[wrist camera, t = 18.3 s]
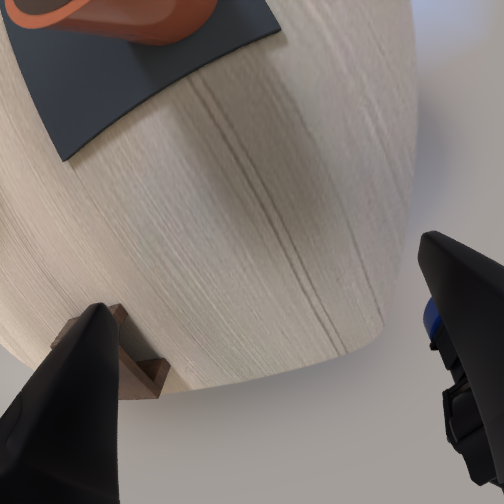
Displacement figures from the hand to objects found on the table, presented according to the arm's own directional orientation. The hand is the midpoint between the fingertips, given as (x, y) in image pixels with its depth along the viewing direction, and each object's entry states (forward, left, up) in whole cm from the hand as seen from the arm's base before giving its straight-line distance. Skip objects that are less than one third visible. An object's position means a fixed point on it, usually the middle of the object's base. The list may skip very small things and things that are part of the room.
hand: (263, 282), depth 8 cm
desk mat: (+16, -23, -11) cm, 30 cm away
